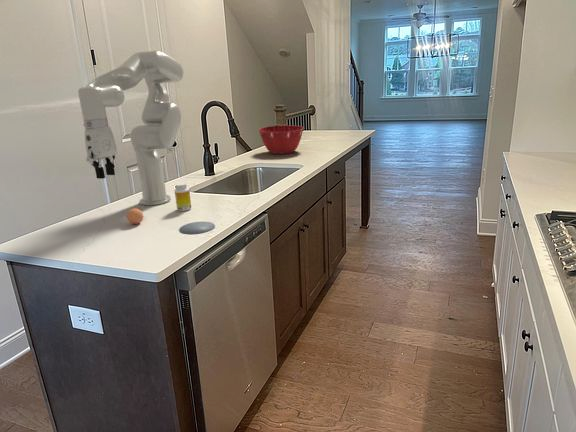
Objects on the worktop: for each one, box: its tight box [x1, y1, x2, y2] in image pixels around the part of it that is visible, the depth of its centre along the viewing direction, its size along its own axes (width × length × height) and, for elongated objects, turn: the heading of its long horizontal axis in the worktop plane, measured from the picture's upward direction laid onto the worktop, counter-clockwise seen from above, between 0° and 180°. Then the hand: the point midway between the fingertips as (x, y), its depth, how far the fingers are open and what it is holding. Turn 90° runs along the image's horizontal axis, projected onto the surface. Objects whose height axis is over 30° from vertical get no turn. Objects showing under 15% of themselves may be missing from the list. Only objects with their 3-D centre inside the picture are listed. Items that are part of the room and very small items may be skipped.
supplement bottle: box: [174, 182, 192, 212], centre depth 171 cm, size 6×6×10 cm
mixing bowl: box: [258, 124, 304, 155], centre depth 278 cm, size 28×28×16 cm
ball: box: [126, 208, 144, 225], centre depth 157 cm, size 6×6×6 cm
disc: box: [178, 221, 216, 235], centre depth 150 cm, size 12×12×1 cm
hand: (106, 176), depth 156 cm, fingers open, 4 cm apart
